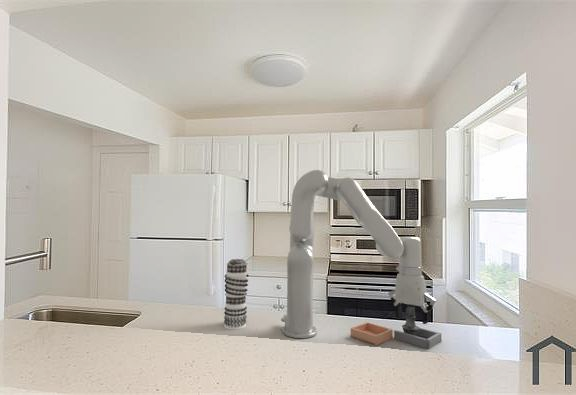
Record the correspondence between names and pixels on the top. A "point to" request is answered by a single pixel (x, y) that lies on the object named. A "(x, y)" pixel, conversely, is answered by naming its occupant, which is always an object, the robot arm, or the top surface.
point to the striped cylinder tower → (235, 294)
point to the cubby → (426, 343)
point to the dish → (371, 333)
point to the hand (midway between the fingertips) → (412, 319)
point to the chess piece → (410, 321)
